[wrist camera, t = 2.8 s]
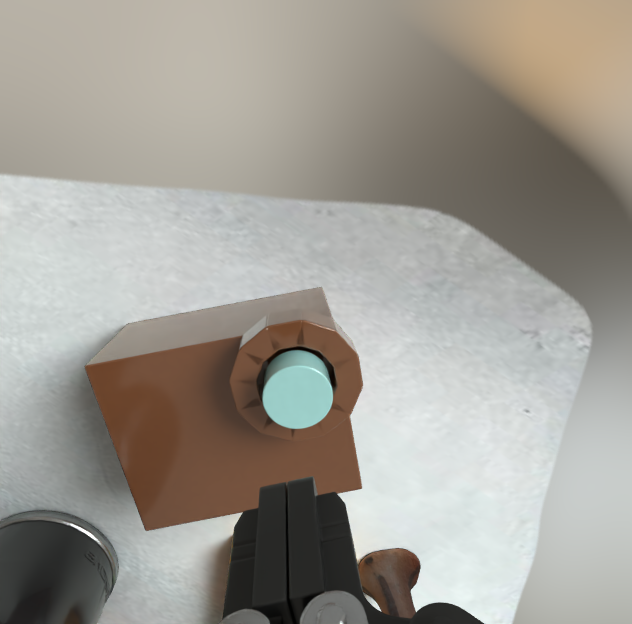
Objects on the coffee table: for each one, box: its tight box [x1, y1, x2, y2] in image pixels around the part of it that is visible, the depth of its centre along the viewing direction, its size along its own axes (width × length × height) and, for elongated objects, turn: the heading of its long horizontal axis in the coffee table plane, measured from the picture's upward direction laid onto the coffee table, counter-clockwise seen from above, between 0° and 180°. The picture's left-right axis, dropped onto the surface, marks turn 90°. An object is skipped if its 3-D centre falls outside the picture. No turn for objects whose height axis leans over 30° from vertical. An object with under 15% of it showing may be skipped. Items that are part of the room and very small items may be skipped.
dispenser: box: [85, 287, 363, 531], centre depth 25 cm, size 13×11×8 cm
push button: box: [262, 350, 333, 429], centre depth 20 cm, size 3×3×2 cm
